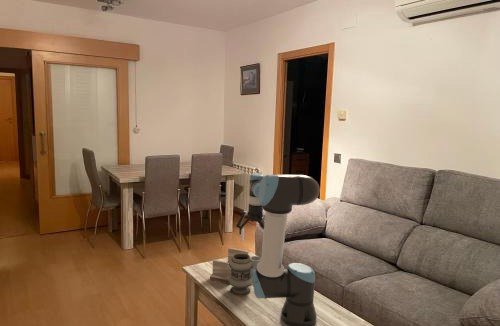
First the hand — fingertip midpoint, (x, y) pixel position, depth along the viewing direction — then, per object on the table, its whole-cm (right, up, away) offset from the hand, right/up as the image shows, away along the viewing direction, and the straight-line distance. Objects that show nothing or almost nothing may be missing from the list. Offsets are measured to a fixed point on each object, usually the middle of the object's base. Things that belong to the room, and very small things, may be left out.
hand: (254, 242), depth 188 cm
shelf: (-13, -18, +7) cm, 23 cm away
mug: (-1, -19, +2) cm, 19 cm away
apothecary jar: (-7, -21, -13) cm, 26 cm away
